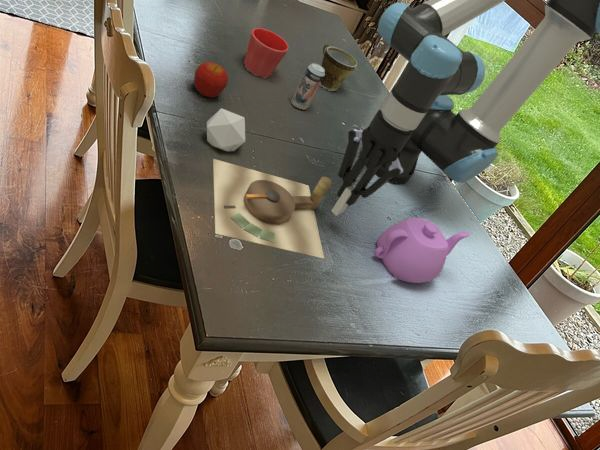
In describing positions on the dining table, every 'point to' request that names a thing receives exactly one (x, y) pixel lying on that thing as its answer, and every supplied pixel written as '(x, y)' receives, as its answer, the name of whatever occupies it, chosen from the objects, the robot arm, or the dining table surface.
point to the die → (226, 130)
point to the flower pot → (264, 52)
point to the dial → (280, 200)
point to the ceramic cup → (336, 67)
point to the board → (245, 226)
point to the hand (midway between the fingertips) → (337, 211)
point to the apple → (210, 79)
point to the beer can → (308, 86)
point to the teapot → (415, 249)
